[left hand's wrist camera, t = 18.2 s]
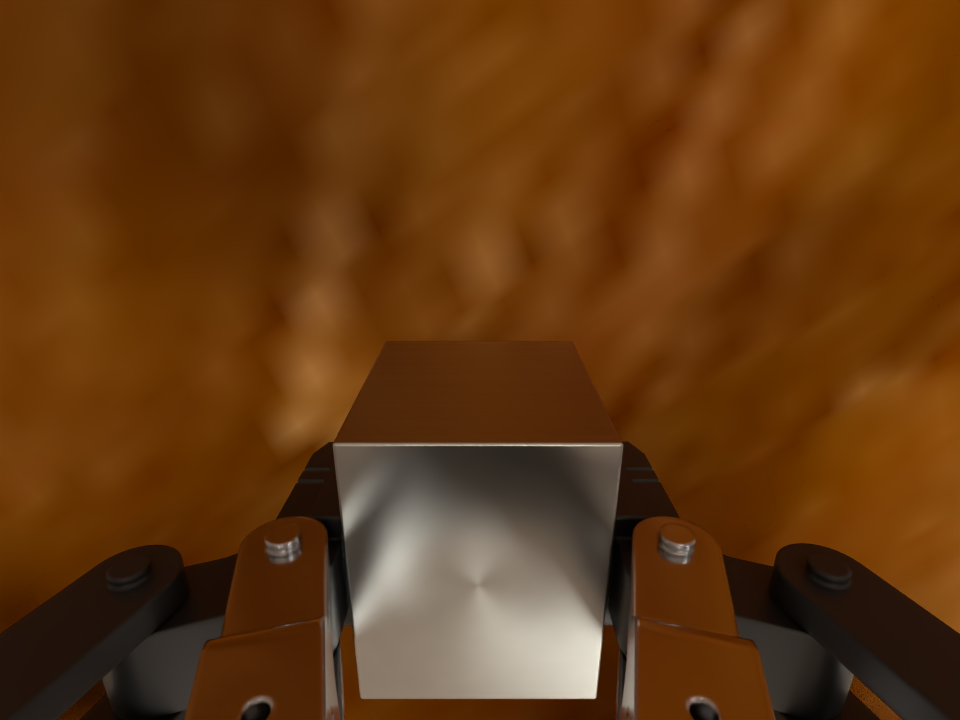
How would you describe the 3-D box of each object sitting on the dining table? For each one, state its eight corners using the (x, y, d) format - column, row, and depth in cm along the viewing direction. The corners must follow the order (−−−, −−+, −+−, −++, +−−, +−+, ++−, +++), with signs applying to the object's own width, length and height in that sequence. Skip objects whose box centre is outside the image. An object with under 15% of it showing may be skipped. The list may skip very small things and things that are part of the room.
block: (397, 530, 13) (359, 700, 9) (385, 340, 12) (331, 443, 7) (560, 530, 13) (597, 700, 9) (572, 340, 12) (624, 443, 7)
